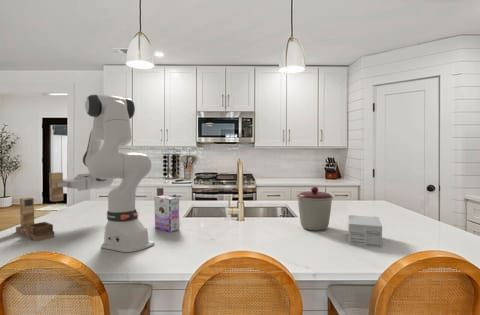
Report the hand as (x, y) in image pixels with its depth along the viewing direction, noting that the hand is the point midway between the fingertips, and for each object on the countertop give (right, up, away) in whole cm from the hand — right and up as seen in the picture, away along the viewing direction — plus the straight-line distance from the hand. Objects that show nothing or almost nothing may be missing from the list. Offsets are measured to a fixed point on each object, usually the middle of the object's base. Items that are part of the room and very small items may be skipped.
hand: (54, 184), depth 156 cm
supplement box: (+148, -23, -19) cm, 151 cm away
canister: (+131, -22, +2) cm, 133 cm away
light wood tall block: (+1, -8, +1) cm, 8 cm away
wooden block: (+51, -22, +24) cm, 60 cm away
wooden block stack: (-5, -23, -7) cm, 25 cm away
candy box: (+56, -23, +2) cm, 61 cm away
